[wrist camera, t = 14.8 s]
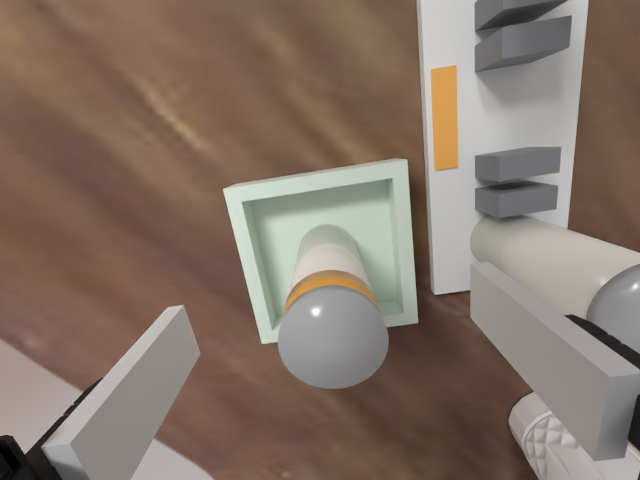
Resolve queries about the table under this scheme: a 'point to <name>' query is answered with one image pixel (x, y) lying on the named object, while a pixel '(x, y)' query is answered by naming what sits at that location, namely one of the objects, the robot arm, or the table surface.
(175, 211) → the table surface
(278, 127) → the table surface
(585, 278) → the fuse
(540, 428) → the white cup
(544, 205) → the board
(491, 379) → the table surface
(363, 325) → the marked fuse
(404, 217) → the tray
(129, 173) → the table surface
